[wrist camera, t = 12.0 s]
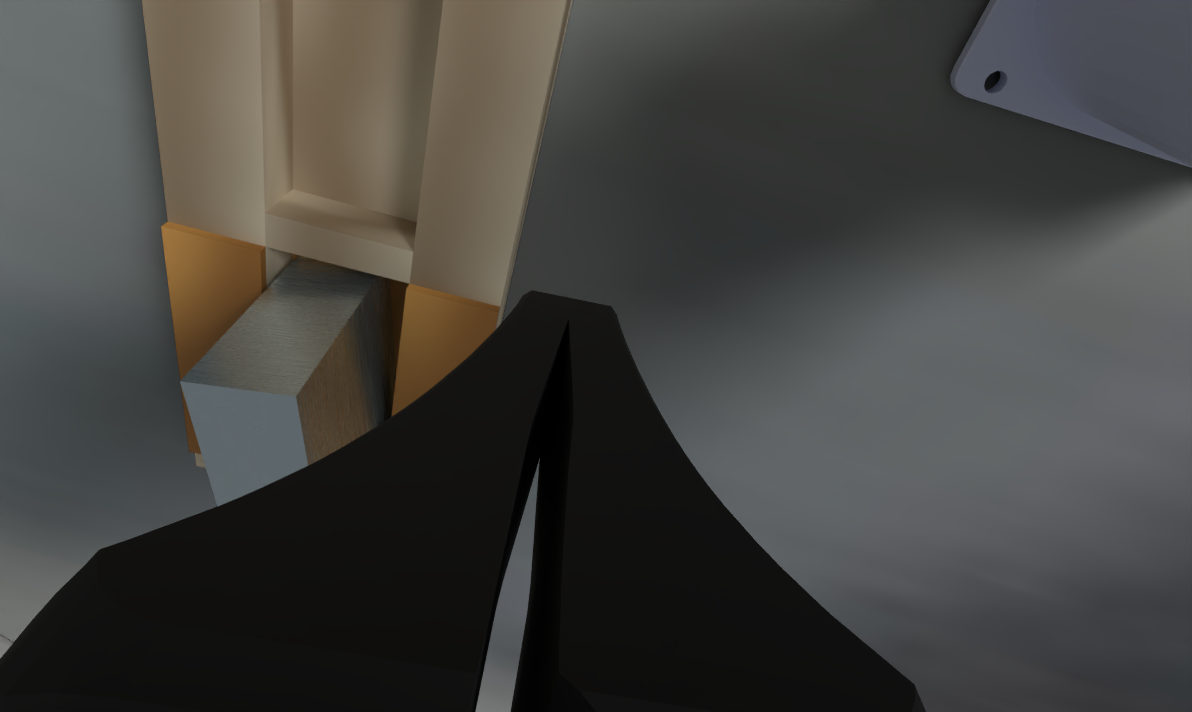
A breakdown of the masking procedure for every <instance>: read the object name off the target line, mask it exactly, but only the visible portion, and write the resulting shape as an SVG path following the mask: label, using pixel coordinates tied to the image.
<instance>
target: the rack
mask: <svg viewBox="0 0 1192 712" xmlns="http://www.w3.org/2000/svg"><path fill="white" fill-rule="evenodd" d="M572 1H573V0H142V6H143V14H144V23H145V31H146V40H147V48H148V57H149V65H150V74H151V82H152V91H153V100H154V108H155V117H156V125H157V134H158V142H159V151H160V159H161V168H162V176H163V185H164V193H165V202H166V210H167V219H168V222H167V223H165V224H164V225H162V226H161V229H162V237H163V246H164V254H165V262H166V270H167V278H168V286H169V294H170V302H171V310H172V318H173V326H174V334H175V342H176V350H177V358H178V366H179V375H180V381H181V380H182V379H183V377H184V376H185V375H186V374H187V373H188V372H189V371H190V370H191V369H192V368H193V367H194V366H195V365H196V364H197V363H198V362H199V360H200V359H201V358H202V357H203V356H204V355H205V354H206V353H207V352H208V351H209V350H210V349H211V348H212V347H213V346H214V345H215V343H216V342H217V341H218V340H219V339H220V338H221V337H222V336H223V335H224V334H225V333H226V332H227V331H228V330H229V329H230V328H231V326H232V325H233V324H234V323H235V322H236V321H237V320H238V319H239V318H240V317H241V316H242V315H243V314H244V313H245V312H246V311H247V309H248V308H249V307H250V306H251V305H252V304H253V303H254V302H255V301H256V300H257V299H258V298H259V297H260V296H261V295H262V294H263V292H264V291H265V290H266V289H267V288H268V287H269V286H270V285H271V284H272V283H273V282H274V281H275V280H276V279H277V278H278V277H279V275H280V274H281V273H282V272H283V271H284V270H285V269H286V268H287V267H288V266H289V265H290V264H291V263H292V262H293V261H294V260H295V258H296V257H297V256H298V255H300V256H304V257H308V258H312V259H315V260H319V261H323V262H327V263H331V264H335V265H339V266H343V267H347V268H351V269H354V270H358V271H362V272H366V273H370V274H374V275H378V276H382V277H386V278H390V284H391V301H392V317H393V334H394V350H395V366H396V382H395V391H394V399H393V408H392V416H393V415H395V414H396V413H398V412H399V411H401V410H402V409H404V408H405V407H407V406H408V405H409V404H411V403H412V402H414V401H415V400H416V399H418V398H419V397H420V396H422V395H423V394H424V393H426V392H427V391H428V390H430V389H431V388H432V387H433V386H435V385H436V384H437V383H438V382H439V381H440V380H442V379H443V378H444V377H445V376H446V375H448V374H449V373H450V372H451V371H452V370H454V369H455V368H456V367H457V366H458V365H459V364H461V363H462V362H463V361H464V360H465V359H466V358H467V357H469V356H470V355H471V354H472V353H473V352H474V351H475V350H476V349H477V348H478V347H479V346H480V345H481V344H482V343H483V342H484V341H485V340H486V339H487V338H488V337H489V336H490V335H491V334H492V333H493V332H494V331H495V330H496V329H497V328H498V327H499V325H500V324H501V323H502V319H503V314H504V309H505V305H506V300H507V296H508V291H509V287H510V282H511V278H512V273H513V269H514V264H515V260H516V255H517V251H518V246H519V242H520V237H521V232H522V228H523V223H524V219H525V214H526V210H527V205H528V201H529V196H530V192H531V187H532V183H533V178H534V174H535V169H536V164H537V160H538V155H539V151H540V146H541V142H542V137H543V133H544V128H545V124H546V119H547V115H548V110H549V106H550V101H551V96H552V92H553V87H554V83H555V78H556V74H557V69H558V65H559V60H560V56H561V51H562V47H563V42H564V38H565V33H566V28H567V24H568V19H569V15H570V10H571V6H572ZM181 391H182V399H183V407H184V415H185V423H186V431H187V439H188V447H189V452H193V453H195V458H196V466H199V467H203V468H206V467H205V464H204V460H203V457H202V454H201V450H200V447H199V444H198V440H197V437H196V433H195V430H194V427H193V423H192V420H191V417H190V413H189V410H188V407H187V403H186V400H185V397H184V393H183V390H182V387H181ZM392 416H391V417H392Z"/></svg>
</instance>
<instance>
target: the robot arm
mask: <svg viewBox="0 0 1192 712" xmlns="http://www.w3.org/2000/svg"><path fill="white" fill-rule="evenodd" d="M996 71H1000V79H999V82H998V83H997V84H996V85H995V86H994V87H992V88H990V89H988V90H985V87H984V84H985V80H986V78H987V77H988V76H989V75H990V74H991V73H993V72H996ZM950 79H951V85H952V87H953V89H954V90H955V91H957V92H958V93H960V94H962V95H963V96H965V97H968V98H971V99H974V100H978V101H981V102H984V103H987V104H990V105H994V106H997V107H1000V108H1003V109H1006V110H1009V111H1013V112H1016V113H1019V114H1022V115H1025V116H1029V117H1032V118H1035V119H1038V120H1041V121H1044V122H1048V123H1051V124H1054V125H1057V126H1060V127H1064V128H1067V129H1070V130H1073V131H1076V132H1079V133H1083V134H1086V135H1089V136H1092V137H1095V138H1099V139H1102V140H1105V141H1108V142H1111V143H1115V144H1118V145H1121V146H1124V147H1127V148H1130V149H1134V150H1137V151H1140V152H1143V153H1146V154H1150V155H1153V156H1156V157H1159V158H1162V159H1165V160H1169V161H1172V162H1175V163H1178V164H1181V165H1185V166H1188V167H1191V168H1192V0H990V1H989V3H988V5H987V7H986V9H985V11H984V12H983V14H982V16H981V18H980V20H979V22H978V23H977V25H976V27H975V29H974V31H973V32H972V34H971V36H970V38H969V40H968V42H967V43H966V45H965V47H964V49H963V51H962V53H961V54H960V56H959V58H958V60H957V62H956V63H955V65H954V67H953V70H952V73H951V75H950ZM539 458H540V462H539V475H538V489H537V502H536V516H535V530H534V544H533V558H532V572H531V585H530V594H529V602H528V611H527V618H526V624H525V630H524V636H523V642H522V648H521V654H520V660H519V666H518V672H517V678H516V684H515V690H514V695H513V701H512V707H511V712H926V711H925V708H924V706H923V704H922V701H921V699H920V697H919V694H918V692H917V690H916V687H915V685H914V684H913V683H912V682H911V681H910V680H908V679H907V678H906V677H905V676H904V675H902V674H901V673H900V672H899V671H898V670H896V669H895V668H894V667H893V666H892V665H890V664H889V663H888V662H887V661H886V660H884V659H883V658H882V657H881V656H880V655H878V654H877V653H876V652H875V651H874V650H873V649H871V648H870V647H869V646H868V645H867V644H865V643H864V642H863V641H862V640H861V639H859V638H858V637H857V636H856V635H855V634H853V633H852V632H851V631H850V630H849V629H847V628H846V627H845V626H844V625H843V624H841V623H840V622H839V621H838V620H837V619H835V618H834V617H833V616H832V615H831V614H830V613H829V612H828V611H826V610H825V609H824V608H823V607H822V606H821V605H820V604H819V603H818V602H817V601H816V600H815V599H814V598H813V597H811V596H810V595H809V594H808V593H807V592H806V591H805V590H804V589H803V588H802V587H801V586H800V585H799V584H798V583H797V582H796V581H795V580H794V579H793V578H792V577H791V576H789V575H788V574H787V573H786V572H785V571H784V570H783V569H782V568H781V567H780V566H779V565H778V564H777V563H776V562H775V561H774V560H773V559H772V558H771V556H770V555H769V554H768V553H767V552H766V551H765V550H764V549H763V548H762V547H761V546H760V545H759V544H758V543H757V542H756V541H755V540H754V539H753V537H752V536H751V535H750V534H749V533H748V532H747V531H746V530H745V528H744V527H743V526H742V525H741V524H740V523H739V522H738V521H737V519H736V518H735V517H734V516H733V515H732V514H731V513H730V512H729V510H728V509H727V508H726V507H725V506H724V505H723V503H722V502H721V501H720V500H719V498H718V497H717V496H716V495H715V494H714V492H713V491H712V490H711V489H710V487H709V486H708V485H707V483H706V482H705V481H704V479H703V478H702V477H701V475H700V474H699V473H698V471H697V470H696V468H695V467H694V466H693V464H692V463H691V461H690V460H689V458H688V457H687V456H686V454H685V453H684V451H683V450H682V448H681V446H680V445H679V443H678V442H677V440H676V439H675V437H674V435H673V434H672V432H671V430H670V429H669V427H668V425H667V424H666V422H665V420H664V419H663V417H662V415H661V413H660V412H659V410H658V408H657V406H656V404H655V402H654V401H653V399H652V397H651V395H650V393H649V391H648V389H647V387H646V385H645V383H644V381H643V379H642V377H641V375H640V373H639V371H638V369H637V366H636V364H635V362H634V360H633V358H632V355H631V353H630V350H629V348H628V346H627V343H626V341H625V338H624V336H623V333H622V330H621V327H620V324H619V321H618V318H617V314H616V313H615V311H614V310H613V308H612V307H611V306H607V305H602V304H597V303H592V302H587V301H582V300H577V299H572V298H567V297H562V296H557V295H552V294H547V293H542V292H538V291H533V290H532V291H530V292H528V293H526V294H525V295H523V297H522V298H521V300H520V301H519V303H518V304H517V305H516V307H515V308H514V309H513V310H512V312H511V313H510V314H509V315H508V316H507V318H506V319H505V320H504V321H503V322H502V323H501V324H500V325H499V327H498V328H497V329H496V330H495V331H494V332H493V333H492V334H491V335H490V336H489V337H488V338H487V339H486V340H485V341H484V342H483V343H482V344H481V345H480V346H479V347H478V348H477V349H476V350H475V351H474V352H473V353H472V354H471V355H470V356H469V357H467V358H466V359H465V360H464V361H463V362H462V363H461V364H459V365H458V366H457V367H456V368H455V369H454V370H452V371H451V372H450V373H449V374H448V375H446V376H445V377H444V378H443V379H442V380H440V381H439V382H438V383H437V384H436V385H435V386H433V387H432V388H431V389H430V390H428V391H427V392H426V393H424V394H423V395H422V396H420V397H419V398H418V399H416V400H415V401H414V402H412V403H411V404H409V405H408V406H407V407H405V408H404V409H402V410H401V411H399V412H398V413H396V414H395V415H393V416H392V417H390V418H389V419H387V420H386V421H385V422H383V423H381V424H380V425H378V426H377V427H375V428H373V429H372V430H370V431H368V432H367V433H365V434H363V435H362V436H360V437H358V438H357V439H355V440H353V441H352V442H350V443H348V444H347V445H345V446H343V447H342V448H340V449H338V450H336V451H334V452H333V453H331V454H329V455H327V456H325V457H324V458H322V459H320V460H318V461H316V462H314V463H312V464H310V465H308V466H306V467H304V468H302V469H300V470H298V471H296V472H294V473H292V474H289V475H287V476H285V477H283V478H281V479H279V480H277V481H275V482H273V483H270V484H268V485H266V486H264V487H262V488H260V489H257V490H255V491H253V492H251V493H248V494H246V495H244V496H242V497H239V498H237V499H234V500H232V501H230V502H227V503H225V504H222V505H220V506H217V507H215V508H213V509H210V510H207V511H204V512H202V513H199V514H196V515H194V516H191V517H188V518H186V519H183V520H180V521H178V522H175V523H172V524H169V525H167V526H164V527H161V528H159V529H156V530H153V531H151V532H148V533H145V534H143V535H140V536H137V537H134V538H132V539H129V540H126V541H123V542H120V543H117V544H114V545H112V546H109V547H106V548H103V549H100V550H99V551H98V552H97V553H96V554H95V555H94V556H93V557H92V558H91V559H90V560H89V561H88V562H87V564H86V565H85V566H84V567H83V568H82V569H81V570H80V571H79V572H77V573H76V574H75V575H74V576H73V577H72V578H71V579H70V580H69V581H68V582H67V583H66V584H65V585H64V586H63V587H62V588H61V589H60V590H59V591H58V592H57V593H56V594H55V595H54V596H53V597H52V599H51V600H50V601H49V602H48V603H47V604H46V605H45V606H44V607H43V609H42V610H41V611H40V612H39V613H38V614H37V615H36V616H35V618H34V619H33V620H32V621H31V622H30V623H29V625H28V626H27V627H26V628H25V629H24V631H23V632H22V633H21V634H20V635H19V637H18V638H17V639H16V640H15V641H14V643H13V644H12V645H11V646H10V647H9V649H8V650H7V651H6V652H5V654H4V655H3V656H2V657H1V658H0V712H475V711H476V706H477V701H478V696H479V691H480V686H481V681H482V676H483V671H484V666H485V661H486V656H487V651H488V646H489V641H490V636H491V631H492V626H493V621H494V616H495V611H496V607H497V603H498V599H499V595H500V591H501V587H502V583H503V579H504V576H505V572H506V569H507V566H508V562H509V559H510V555H511V552H512V549H513V545H514V542H515V539H516V535H517V532H518V529H519V525H520V522H521V519H522V515H523V512H524V509H525V505H526V502H527V498H528V495H529V492H530V488H531V485H532V482H533V478H534V475H535V472H536V468H537V465H538V461H539Z"/></svg>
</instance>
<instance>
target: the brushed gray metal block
mask: <svg viewBox="0 0 1192 712" xmlns="http://www.w3.org/2000/svg"><path fill="white" fill-rule="evenodd" d="M395 382H396V366H395V350H394V334H393V317H392V301H391V284H390V278H386V277H382V276H378V275H374V274H370V273H366V272H362V271H358V270H354V269H351V268H347V267H343V266H339V265H335V264H331V263H327V262H323V261H319V260H315V259H312V258H308V257H304V256H300V255H298V256H297V257H296V258H295V260H294V261H293V262H292V263H291V264H290V265H289V266H288V267H287V268H286V269H285V270H284V271H283V272H282V273H281V274H280V275H279V277H278V278H277V279H276V280H275V281H274V282H273V283H272V284H271V285H270V286H269V287H268V288H267V289H266V290H265V291H264V292H263V294H262V295H261V296H260V297H259V298H258V299H257V300H256V301H255V302H254V303H253V304H252V305H251V306H250V307H249V308H248V309H247V311H246V312H245V313H244V314H243V315H242V316H241V317H240V318H239V319H238V320H237V321H236V322H235V323H234V324H233V325H232V326H231V328H230V329H229V330H228V331H227V332H226V333H225V334H224V335H223V336H222V337H221V338H220V339H219V340H218V341H217V342H216V343H215V345H214V346H213V347H212V348H211V349H210V350H209V351H208V352H207V353H206V354H205V355H204V356H203V357H202V358H201V359H200V360H199V362H198V363H197V364H196V365H195V366H194V367H193V368H192V369H191V370H190V371H189V372H188V373H187V374H186V375H185V376H184V377H183V379H182V380H181V381H180V383H181V387H182V390H183V393H184V397H185V400H186V403H187V407H188V410H189V413H190V417H191V420H192V423H193V427H194V430H195V433H196V437H197V440H198V444H199V447H200V450H201V454H202V457H203V460H204V464H205V467H206V470H207V474H208V477H209V480H210V484H211V487H212V490H213V494H214V497H215V500H216V504H217V506H220V505H222V504H225V503H227V502H230V501H232V500H234V499H237V498H239V497H242V496H244V495H246V494H248V493H251V492H253V491H255V490H257V489H260V488H262V487H264V486H266V485H268V484H270V483H273V482H275V481H277V480H279V479H281V478H283V477H285V476H287V475H289V474H292V473H294V472H296V471H298V470H300V469H302V468H304V467H306V466H308V465H310V464H312V463H314V462H316V461H318V460H320V459H322V458H324V457H325V456H327V455H329V454H331V453H333V452H334V451H336V450H338V449H340V448H342V447H343V446H345V445H347V444H348V443H350V442H352V441H353V440H355V439H357V438H358V437H360V436H362V435H363V434H365V433H367V432H368V431H370V430H372V429H373V428H375V427H377V426H378V425H380V424H381V423H383V422H385V421H386V420H387V419H389V418H390V417H391V416H392V408H393V399H394V391H395Z"/></svg>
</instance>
